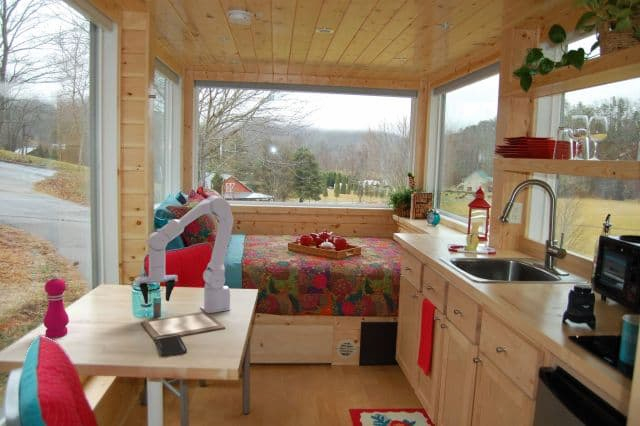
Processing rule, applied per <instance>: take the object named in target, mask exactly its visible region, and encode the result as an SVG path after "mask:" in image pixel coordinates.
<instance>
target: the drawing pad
mask: <svg viewBox="0 0 640 426" xmlns="http://www.w3.org/2000/svg"><path fill="white" fill-rule="evenodd" d="M140 324H141V325H142V327H143V328H144V330H146V332H147V333H148V334H149V335H150V336H151V338H152V339H153V340H154V341H155V337H156V339H160V338H166V337H172V336H178V335H174V334H179V335H180V337H181V338H182V337H185V336H190V335H191V336H192V335H196V334H197V335H198V334H202V333H208V332H213V331H219V330H220V331H221V330H225V329H226V326H225V325H224V324H222V323H221V322H220V321H219V320H217V319H216V318H215V317H214V316H212V314H211V313H207V312H205V311H203V312H202V311H201V312H196V313H189V314H184V315H177V316H171V317H169V316H168V317H163V318H157V319H150V320H143V321H140ZM165 335H170V336H165ZM157 336H162V337H157Z"/></svg>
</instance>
